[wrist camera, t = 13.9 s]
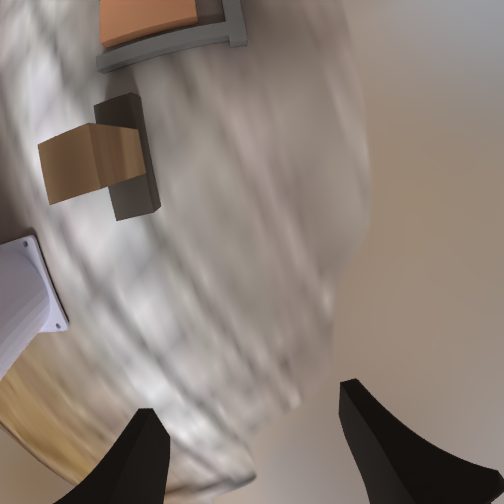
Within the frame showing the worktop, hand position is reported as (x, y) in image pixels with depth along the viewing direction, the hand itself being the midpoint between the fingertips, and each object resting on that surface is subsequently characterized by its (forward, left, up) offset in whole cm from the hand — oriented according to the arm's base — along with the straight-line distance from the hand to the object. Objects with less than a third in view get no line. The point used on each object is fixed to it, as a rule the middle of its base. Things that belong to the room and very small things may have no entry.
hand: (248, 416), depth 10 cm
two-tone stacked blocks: (-5, +10, -10) cm, 15 cm away
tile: (-2, +21, -11) cm, 24 cm away
